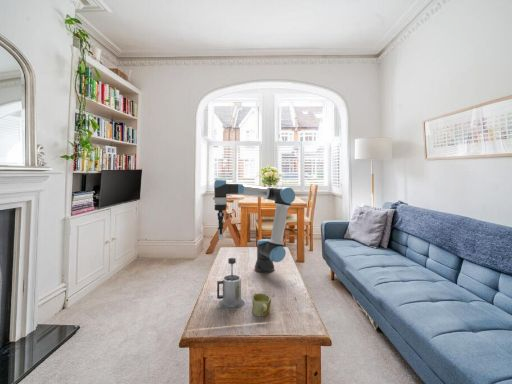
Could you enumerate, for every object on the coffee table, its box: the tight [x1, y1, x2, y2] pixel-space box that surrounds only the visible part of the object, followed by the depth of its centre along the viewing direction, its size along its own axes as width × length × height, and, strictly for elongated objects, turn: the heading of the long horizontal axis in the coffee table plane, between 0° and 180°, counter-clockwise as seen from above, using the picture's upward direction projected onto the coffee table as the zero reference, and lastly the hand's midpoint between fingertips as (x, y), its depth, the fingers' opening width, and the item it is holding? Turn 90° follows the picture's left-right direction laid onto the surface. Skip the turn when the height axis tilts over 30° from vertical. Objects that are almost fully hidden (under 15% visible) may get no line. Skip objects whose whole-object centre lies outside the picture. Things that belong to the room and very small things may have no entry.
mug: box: [251, 292, 272, 317], centre depth 127 cm, size 12×10×10 cm
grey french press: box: [216, 274, 242, 308], centre depth 137 cm, size 13×10×14 cm
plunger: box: [227, 257, 237, 281], centre depth 136 cm, size 7×7×13 cm
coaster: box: [218, 298, 245, 311], centre depth 137 cm, size 14×14×1 cm
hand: (220, 237), depth 161 cm, fingers open, 13 cm apart
